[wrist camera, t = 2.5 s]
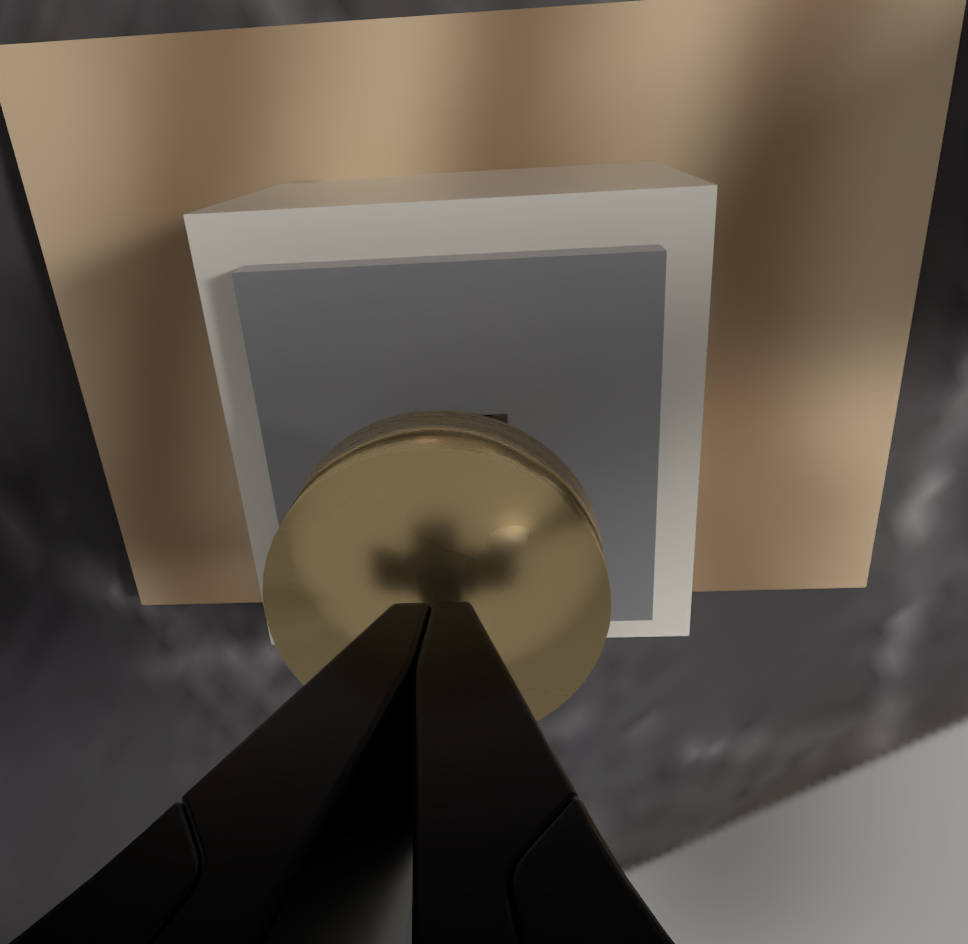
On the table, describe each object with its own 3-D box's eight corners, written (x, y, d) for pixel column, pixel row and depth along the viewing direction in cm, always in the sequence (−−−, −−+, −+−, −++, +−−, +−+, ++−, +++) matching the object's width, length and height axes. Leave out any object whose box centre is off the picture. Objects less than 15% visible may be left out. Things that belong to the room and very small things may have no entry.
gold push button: (611, 257, 14) (686, 374, 8) (609, 525, 16) (664, 782, 10) (311, 272, 14) (152, 396, 8) (349, 534, 16) (248, 787, 10)
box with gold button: (653, 160, 17) (727, 189, 11) (641, 561, 21) (689, 740, 15) (288, 181, 17) (166, 219, 11) (346, 569, 22) (280, 746, 16)
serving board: (950, -17, 16) (970, -23, 15) (854, 571, 22) (866, 587, 21) (6, 48, 17) (-16, 46, 17) (153, 589, 23) (141, 604, 22)
